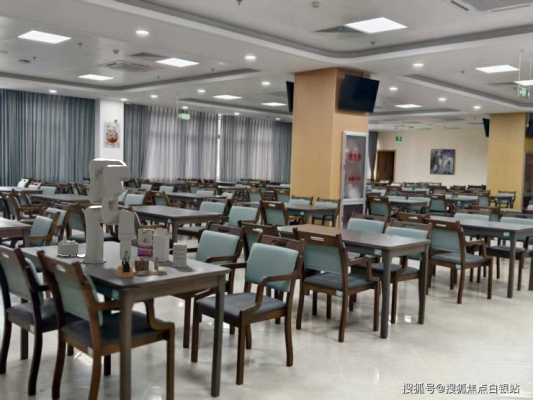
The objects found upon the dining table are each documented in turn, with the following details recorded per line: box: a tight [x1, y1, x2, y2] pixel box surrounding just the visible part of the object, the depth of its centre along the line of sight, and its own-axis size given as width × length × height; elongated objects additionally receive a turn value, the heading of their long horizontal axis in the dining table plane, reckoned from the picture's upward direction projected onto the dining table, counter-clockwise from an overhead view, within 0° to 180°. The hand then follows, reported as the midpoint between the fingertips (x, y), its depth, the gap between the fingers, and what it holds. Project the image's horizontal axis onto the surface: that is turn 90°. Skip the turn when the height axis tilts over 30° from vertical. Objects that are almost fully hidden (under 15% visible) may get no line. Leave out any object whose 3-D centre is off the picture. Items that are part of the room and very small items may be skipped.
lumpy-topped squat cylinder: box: [57, 239, 79, 255], centre depth 319 cm, size 10×13×9 cm
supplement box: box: [172, 242, 188, 268], centre depth 296 cm, size 7×7×13 cm
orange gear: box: [117, 264, 134, 278], centre depth 265 cm, size 7×7×5 cm
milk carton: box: [152, 227, 170, 263], centre depth 310 cm, size 7×7×19 cm
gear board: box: [133, 256, 168, 276], centre depth 276 cm, size 17×11×8 cm, turn 109°
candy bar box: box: [137, 228, 156, 258], centre depth 326 cm, size 11×5×16 cm, turn 68°
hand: (125, 270), depth 264 cm, fingers open, 9 cm apart
